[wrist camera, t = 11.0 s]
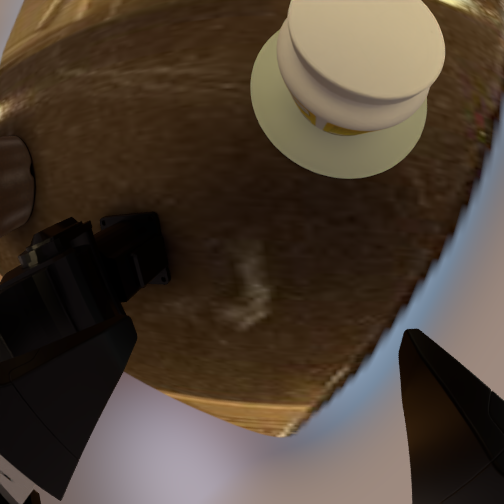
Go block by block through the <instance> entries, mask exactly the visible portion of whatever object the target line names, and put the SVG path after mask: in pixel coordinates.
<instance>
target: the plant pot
mask: <svg viewBox="0 0 504 504" xmlns="http://www.w3.org/2000/svg"><path fill="white" fill-rule="evenodd" d="M31 162H32V161H31V158H30V154H29V152H28V149H27V147H26V145H25V144H24V142H23V141H22V140H21V139H20V138H19V137H17V136H4V137H0V238H1V237H2V236H4V235H6V234H7V233H9V232H11V231H12V230H14V229H16V228H18V227H20V226H21V225H23V224H24V223H25V222H26V221H27V220H28V218H29V216H30V214H31V211H32V207H33V200H34V177H33V176H32V175H31V173H30V165H31Z"/></svg>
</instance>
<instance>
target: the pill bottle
mask: <svg viewBox="0 0 504 504" xmlns="http://www.w3.org/2000/svg"><path fill="white" fill-rule="evenodd" d="M276 47H277V61H278V66H279V69H280V73H281V75H282V78H283V80H284V82H285V84H286V86H287V88H288V90H289V92H290V94H291V96H292V98H293V100H294V101H295V103H296V105H297V107H298V108H299V110H300V111H301V113H302V114H303V116H304V117H305V118H306V119H307V120H308V121H309V122H310V123H312V124H313V125H314V126H316V127H317V128H319V129H321V130H323V131H325V132H327V133H330V134H334V135H339V136H354V135H360V134H364V133H368V132H373V131H378V130H383V129H387V128H390V127H393V126H396V125H398V124H400V123H402V122H403V121H405V120H406V119H408V118H409V117H411V116H412V115H413V114H414V113H415V112H416V111H417V110H418V109H419V108H420V107H421V105H422V104H423V102H424V100H425V99H426V97H427V94H428V92H429V88H430V86H431V85H432V84H433V83H434V81H435V80H436V79H437V77H438V76H439V74H440V72H441V70H442V67H443V63H444V59H445V44H444V39H443V35H442V32H441V29H440V27H439V25H438V23H437V21H436V19H435V17H434V16H433V14H432V13H431V11H430V10H429V9H428V7H427V6H426V5H425V4H424V3H423V2H422V1H421V0H291V2H290V6H289V10H288V17H287V18H286V20H285V21H284V23H283V25H282V27H281V29H280V32H279V35H278V39H277V46H276Z"/></svg>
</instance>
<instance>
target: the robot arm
mask: <svg viewBox="0 0 504 504" xmlns="http://www.w3.org/2000/svg"><path fill="white" fill-rule="evenodd" d="M151 216H152V217H153V220H151V218H150V217H151ZM104 221H105V222H104ZM105 223H106V224H105ZM100 225H101V230H102V231H100V232H98V233H96V234H94V235H93V232H92V229H91V228H92V225H91V221H88V222H85V223H82V221H81V222H77V221H76V220H75V219H74V218H73V217H70V218H68V219H66V220H63V221H61V222H59V223H57V224H55V225H53V226H50V227H48V228H46V229H44V230H42V231H40V232H38V233H37V234H35V235H34V236H33V239H32V242H31V245H30V246H28V247H27V248H26V251H24V252H23V253H22V254H20V255H19V256H18V258H19V261H20V263H21V265H20V266H18V267H16V268H14V269H13V270H11V271H9V272H8V273H6V274H5V275H4V276H3V278H2V280H1V282H0V504H41V501H40V496H39V493H38V492H36V491H35V490H34V487H35V486H36V485H38V486H39V487H41V488H42V489H43V490H45V491H46V492H48V493H49V494H51V495H52V496H54V497H55V498H57V499H58V500H60V501H61V500H62V498H63V496H64V493H65V491H66V489H67V487H68V484H69V482H70V480H71V477H72V475H73V473H74V471H75V468H76V466H77V464H78V462H79V459H80V457H81V455H82V452H83V450H84V448H85V446H86V444H87V442H88V440H89V438H90V436H91V434H92V432H93V430H94V428H95V426H96V423H97V421H98V419H99V418H100V416H101V414H102V411H103V410H104V408H105V406H106V404H107V402H108V400H109V398H110V396H111V394H112V392H113V390H114V389H115V387H116V385H117V383H118V381H119V379H120V377H121V375H122V373H123V371H124V369H125V367H126V364H127V362H128V360H129V357H130V355H131V352H132V350H133V348H134V346H135V343H136V341H137V333H136V330H135V327H134V325H133V322H132V319H131V318H130V317H129V316H127V315H126V313H125V311H124V309H123V307H122V305H121V303H122V302H127V301H128V300H129V299H130V298H131V297H132V296H133V295H134V294H136V293H137V292H138V291H139V290H140V289H141V288H144V287H145V286H146V285H147V284H164V285H165V284H168V283H169V282H170V280H171V279H170V274H169V269H168V261H167V257H166V252H165V247H164V242H163V238H162V236H161V231H160V226H159V220H158V216H157V214H156V213H155V212H144V213H134V214H124V215H115V216H106V217H103V218H101V219H100ZM163 277H165V278H166V280H165V279H164V278H163ZM399 368H400V379H401V393H402V404H403V410H404V416H405V423H406V430H407V438H408V446H409V455H410V466H411V481H412V504H504V400H503V399H501V398H500V397H499V396H498V395H497V394H496V393H494V392H493V391H491V389H490V388H489V387H488V386H486V385H485V384H484V383H483V382H482V381H481V380H480V379H478V378H477V377H476V376H475V375H474V374H473V373H471V372H470V371H469V370H468V369H467V368H465V367H464V366H463V365H462V364H461V363H460V362H458V361H457V360H456V359H455V358H454V357H452V356H451V355H450V354H449V353H448V352H446V351H445V350H444V349H443V348H441V347H440V346H439V345H438V344H437V343H435V342H434V341H433V340H431V339H430V338H429V337H428V336H426V335H425V334H424V333H422V331H420V330H419V329H407V330H405V332H404V334H403V338H402V342H401V346H400V349H399Z"/></svg>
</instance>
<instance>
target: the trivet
mask: <svg viewBox="0 0 504 504" xmlns="http://www.w3.org/2000/svg"><path fill="white" fill-rule="evenodd" d="M279 32H280V30H278V31H277V32H276V33H275V34H274V35H273V36H272V37H271V38H270V39H269V40H268V41H267V42H266V43H265V45H264V46H263V48H262V49H261V51H260V52H259V54H258V56H257V59H256V61H255V63H254V67H253V71H252V75H251V84H250V85H251V99H252V105H253V108H254V112H255V115H256V117H257V120H258V122H259V124H260V126H261V128H262V129H263V131H264V133H265V134H266V136H267V137H268V138H269V140H270V141H271V142H272V143H273V144H274V146H275V147H276V148H277V149H279V150H280V151H281V152H282V153H283V154H284V155H285V156H286V157H288V158H289V159H290V160H292V161H293V162H295V163H297V164H298V165H300V166H302V167H303V168H306V169H308V170H310V171H312V172H315V173H318V174H321V175H325V176H329V177H335V178H346V179H352V178H363V177H368V176H373V175H376V174H379V173H382V172H384V171H386V170H388V169H390V168H392V167H393V166H395V165H396V164H398V163H399V162H400V161H401V160H403V159H404V158H405V157H406V156H407V155H408V154H409V153H410V151H411V150H412V149H413V148H414V146H415V145H416V143H417V141H418V140H419V138H420V136H421V133H422V131H423V128H424V124H425V120H426V113H427V97H426V99H425V100H424V102H423V104H422V105H421V107H420V108H419V109H418V110H417V111H416V112H415V113H414V114H413V115H412V116H411V117H409V118H408V119H406V120H405V121H403V122H402V123H400V124H398V125H396V126H393V127H390V128H387V129H383V130H378V131H373V132H368V133H364V134H360V135H354V136H339V135H334V134H330V133H327V132H325V131H323V130H321V129H319V128H317V127H316V126H314V125H313V124H312V123H310V122H309V121H308V120H307V119H306V118H305V117H304V116H303V114H302V113H301V111H300V110H299V108H298V107H297V105H296V103H295V101H294V100H293V98H292V96H291V94H290V92H289V90H288V88H287V86H286V84H285V82H284V80H283V78H282V75H281V73H280V69H279V66H278V61H277V47H276V46H277V39H278V35H279Z"/></svg>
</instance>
